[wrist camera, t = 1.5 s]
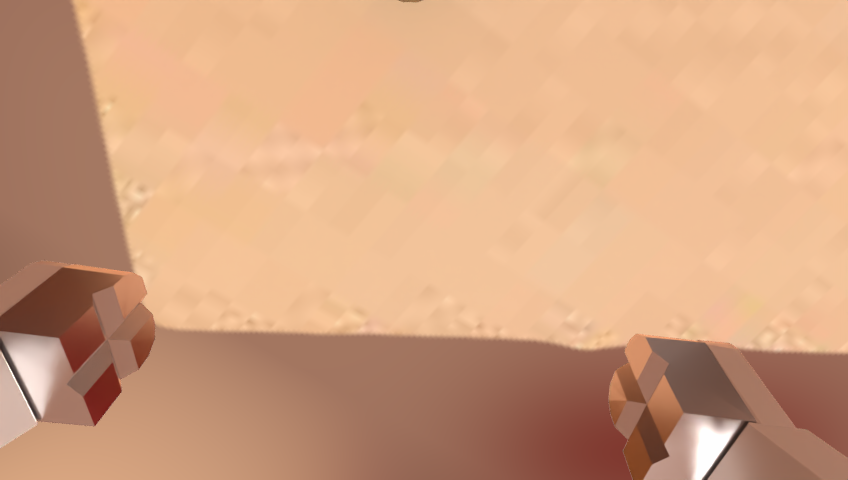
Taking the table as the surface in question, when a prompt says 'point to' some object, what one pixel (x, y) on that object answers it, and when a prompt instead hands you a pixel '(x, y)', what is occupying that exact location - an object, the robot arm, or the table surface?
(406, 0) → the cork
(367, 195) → the table surface
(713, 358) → the robot arm
